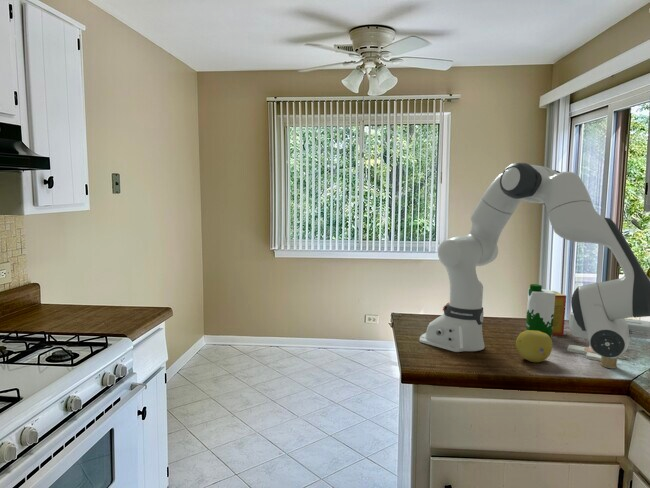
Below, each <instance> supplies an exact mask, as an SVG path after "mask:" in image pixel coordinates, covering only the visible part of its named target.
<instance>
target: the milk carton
mask: <svg viewBox="0 0 650 488" xmlns="http://www.w3.org/2000/svg"><path fill="white" fill-rule="evenodd" d="M527 289H528V290H527V304H526V317H525V318H526V320H525V331H526V330H534V331H540V332H543V333H546V334H547V335H549V336H550V338H551V339H552V336H553V335H552V329H553V319H554V306H555V293H554V292H552V291H553V290H551V289H543V285H541V284H538V283H536V284H535V283H531V284H530V285H529V288H527Z"/></svg>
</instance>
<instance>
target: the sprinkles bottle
mask: <svg viewBox="0 0 650 488" xmlns="http://www.w3.org/2000/svg"><path fill="white" fill-rule="evenodd" d="M617 364H618V357H615V358H606V357H602V356H601V361H600V363H599V365H601V366H602V367H604V368H607V369H617V367H618V365H617Z"/></svg>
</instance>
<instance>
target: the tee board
mask: <svg viewBox="0 0 650 488" xmlns="http://www.w3.org/2000/svg"><path fill="white" fill-rule="evenodd" d="M588 346H589V347H587V346H579V345H575V344H568V347H567V352H571V353H576V354H577V353H578V354H581V355H582V354H583V355H586V356H585V359H588V360H595V361H599V362H601V356H600V355H598V354H596V353H595V352H594V351H593V350H592V349H591V347H590V345H589V344H588Z"/></svg>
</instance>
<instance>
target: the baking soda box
mask: <svg viewBox="0 0 650 488" xmlns="http://www.w3.org/2000/svg"><path fill="white" fill-rule="evenodd" d="M551 291H552V292H554V293H555V306H554V319H553V329H552V336H564V332H565V322H566V308H567V307H566V305H567V295H565V294H563V293H560V292H558V291H555V290H551Z"/></svg>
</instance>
